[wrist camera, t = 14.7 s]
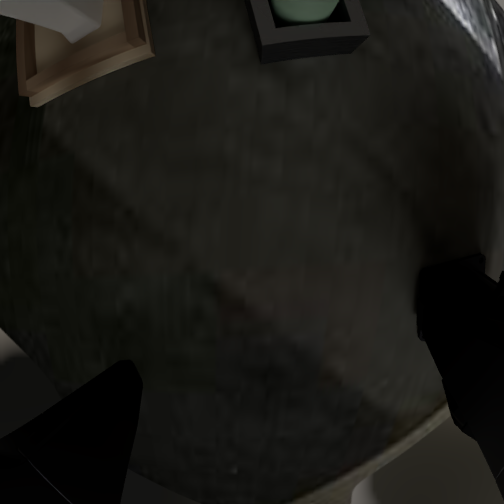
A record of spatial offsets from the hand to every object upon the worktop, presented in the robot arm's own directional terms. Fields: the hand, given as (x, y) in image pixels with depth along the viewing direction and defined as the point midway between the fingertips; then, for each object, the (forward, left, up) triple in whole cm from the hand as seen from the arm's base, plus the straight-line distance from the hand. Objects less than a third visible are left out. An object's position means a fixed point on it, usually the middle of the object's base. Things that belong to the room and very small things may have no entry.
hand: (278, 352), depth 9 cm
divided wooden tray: (+9, -24, -13) cm, 29 cm away
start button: (-5, -14, -12) cm, 19 cm away
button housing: (-5, -14, -13) cm, 20 cm away
